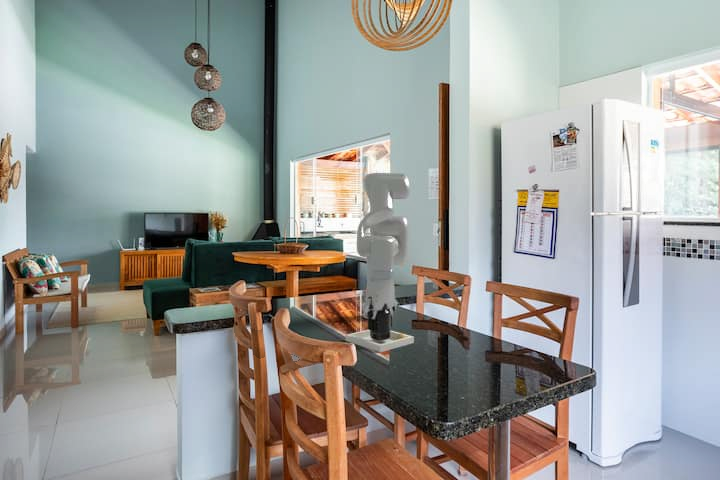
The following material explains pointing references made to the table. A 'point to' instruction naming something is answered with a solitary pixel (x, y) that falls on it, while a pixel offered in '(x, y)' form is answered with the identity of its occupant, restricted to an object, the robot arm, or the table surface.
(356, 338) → the tray
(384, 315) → the supplement bottle
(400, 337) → the ball
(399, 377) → the table surface
